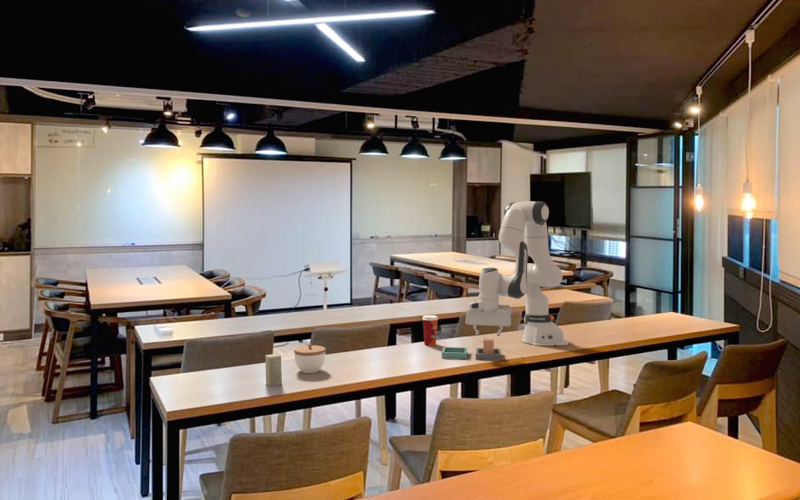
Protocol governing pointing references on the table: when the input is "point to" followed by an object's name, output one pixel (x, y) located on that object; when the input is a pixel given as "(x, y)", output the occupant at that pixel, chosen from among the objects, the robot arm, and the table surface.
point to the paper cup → (430, 329)
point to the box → (273, 370)
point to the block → (488, 345)
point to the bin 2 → (488, 356)
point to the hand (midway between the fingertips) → (487, 335)
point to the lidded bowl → (309, 358)
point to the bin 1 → (454, 352)
